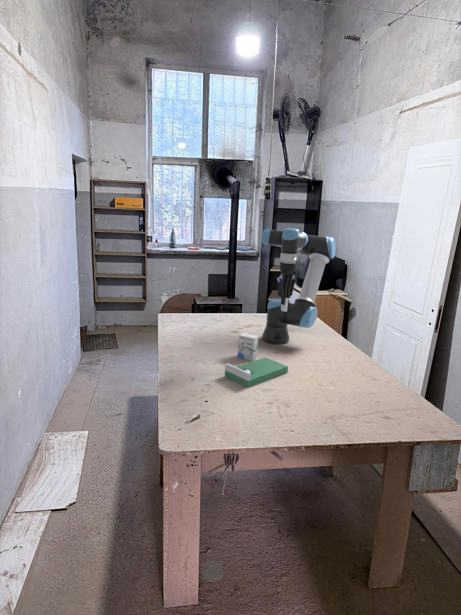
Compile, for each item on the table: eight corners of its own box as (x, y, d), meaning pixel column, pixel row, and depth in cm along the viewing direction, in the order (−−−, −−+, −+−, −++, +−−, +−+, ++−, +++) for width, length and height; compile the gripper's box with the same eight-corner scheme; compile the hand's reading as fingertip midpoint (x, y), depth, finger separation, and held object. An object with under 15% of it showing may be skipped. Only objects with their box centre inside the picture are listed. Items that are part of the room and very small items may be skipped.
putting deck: (224, 376, 185) (225, 363, 183) (264, 363, 202) (265, 351, 201) (247, 387, 175) (248, 374, 174) (287, 372, 193) (288, 360, 191)
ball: (246, 375, 187) (240, 378, 184) (246, 367, 185) (240, 370, 183) (253, 378, 184) (246, 381, 181) (253, 370, 182) (246, 373, 180)
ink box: (236, 357, 208) (238, 334, 205) (241, 354, 212) (242, 332, 209) (252, 361, 204) (254, 338, 201) (257, 358, 208) (258, 335, 205)
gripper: (285, 264, 191) (281, 314, 197) (303, 262, 200) (298, 310, 206) (272, 261, 196) (269, 311, 202) (290, 260, 205) (286, 307, 211)
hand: (283, 310), depth 204 cm, fingers closed
